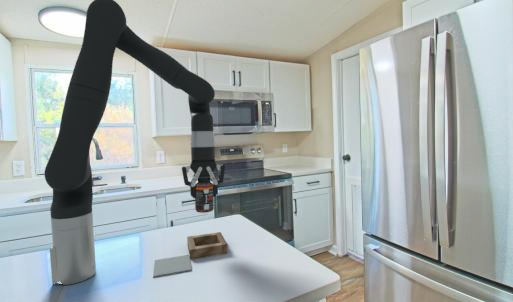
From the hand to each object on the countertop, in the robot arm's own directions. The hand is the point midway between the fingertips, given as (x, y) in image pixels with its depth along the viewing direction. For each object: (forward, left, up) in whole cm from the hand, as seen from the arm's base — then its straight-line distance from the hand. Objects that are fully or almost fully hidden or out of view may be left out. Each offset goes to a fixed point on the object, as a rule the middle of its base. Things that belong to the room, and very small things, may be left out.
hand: (204, 196), depth 88 cm
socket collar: (0, 0, -17) cm, 17 cm away
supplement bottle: (0, 0, -5) cm, 5 cm away
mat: (-11, -8, -17) cm, 22 cm away
